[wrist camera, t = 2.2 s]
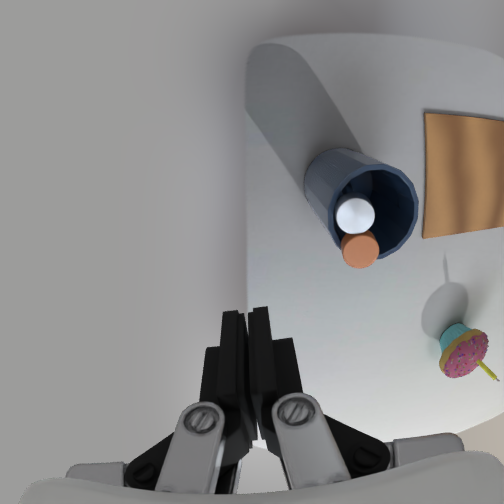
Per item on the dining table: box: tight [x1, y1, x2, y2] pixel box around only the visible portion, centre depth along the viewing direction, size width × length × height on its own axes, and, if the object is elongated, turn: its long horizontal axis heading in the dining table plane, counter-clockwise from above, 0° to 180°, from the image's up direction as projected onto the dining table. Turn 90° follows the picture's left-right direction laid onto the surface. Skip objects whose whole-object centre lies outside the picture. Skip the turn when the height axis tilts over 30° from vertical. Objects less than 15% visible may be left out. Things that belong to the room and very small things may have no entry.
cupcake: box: [439, 323, 500, 381], centre depth 33 cm, size 9×8×12 cm
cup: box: [304, 148, 419, 259], centre depth 24 cm, size 7×7×9 cm
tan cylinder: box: [341, 230, 379, 268], centre depth 24 cm, size 3×3×10 cm
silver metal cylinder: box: [335, 181, 375, 234], centre depth 23 cm, size 3×3×10 cm
